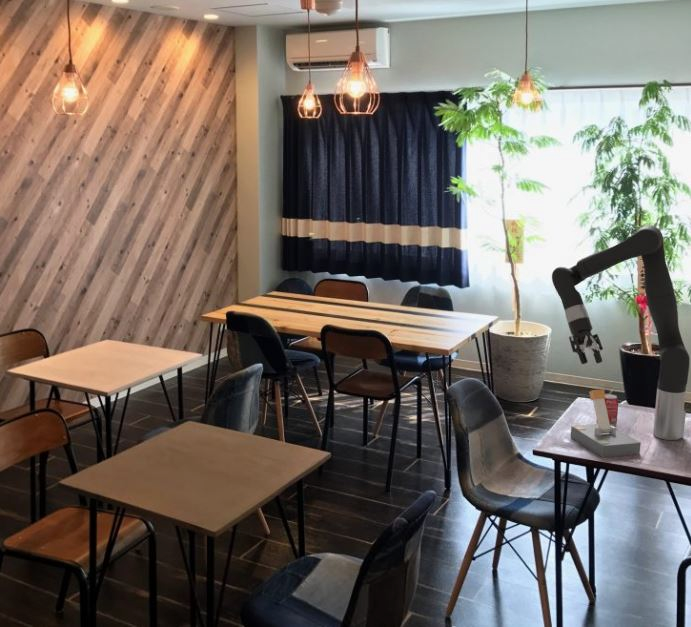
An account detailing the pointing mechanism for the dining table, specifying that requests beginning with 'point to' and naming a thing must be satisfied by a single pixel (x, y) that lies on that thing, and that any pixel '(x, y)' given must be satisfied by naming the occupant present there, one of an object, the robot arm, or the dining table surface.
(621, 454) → the switch panel
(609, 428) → the lever
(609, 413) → the soda can
